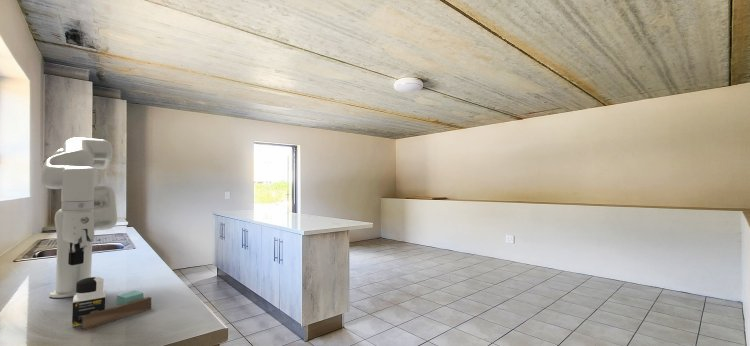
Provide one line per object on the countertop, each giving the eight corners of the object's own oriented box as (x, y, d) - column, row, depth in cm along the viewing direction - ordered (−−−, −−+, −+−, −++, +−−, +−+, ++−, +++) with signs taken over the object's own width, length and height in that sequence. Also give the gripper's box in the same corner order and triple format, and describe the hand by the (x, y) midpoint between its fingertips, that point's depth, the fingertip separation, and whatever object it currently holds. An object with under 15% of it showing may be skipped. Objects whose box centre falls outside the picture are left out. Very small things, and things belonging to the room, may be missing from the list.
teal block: (116, 311, 101) (117, 295, 101) (134, 305, 106) (134, 290, 106) (125, 314, 99) (125, 297, 99) (143, 308, 103) (143, 292, 104)
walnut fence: (81, 328, 89) (81, 315, 89) (147, 307, 104) (148, 296, 104) (84, 329, 88) (84, 317, 88) (151, 308, 103) (151, 297, 103)
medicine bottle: (71, 327, 90) (73, 284, 90) (73, 319, 95) (74, 278, 96) (104, 320, 94) (106, 279, 95) (104, 312, 100) (105, 273, 100)
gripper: (104, 207, 102) (102, 265, 102) (81, 203, 108) (80, 257, 109) (73, 209, 95) (71, 271, 95) (51, 205, 102) (49, 263, 102)
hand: (75, 263), depth 102 cm, fingers closed
